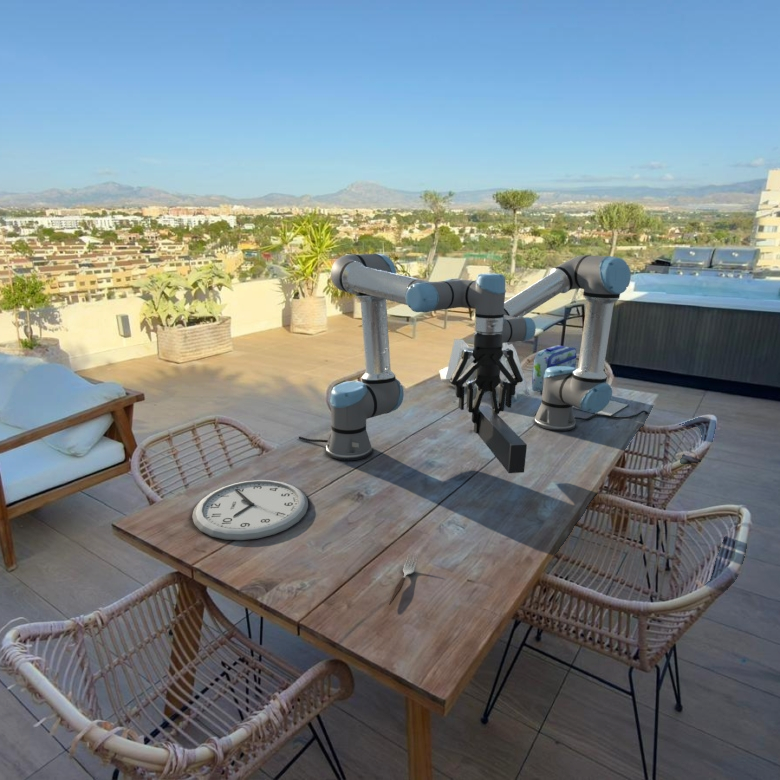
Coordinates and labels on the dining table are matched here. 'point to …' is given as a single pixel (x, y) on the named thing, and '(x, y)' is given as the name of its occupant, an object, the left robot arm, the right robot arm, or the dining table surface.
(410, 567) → the fork
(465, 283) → the left robot arm
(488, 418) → the bar
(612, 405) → the invitation card
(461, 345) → the white plastic object
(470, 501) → the dining table surface
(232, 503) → the wall clock
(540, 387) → the lunch box
